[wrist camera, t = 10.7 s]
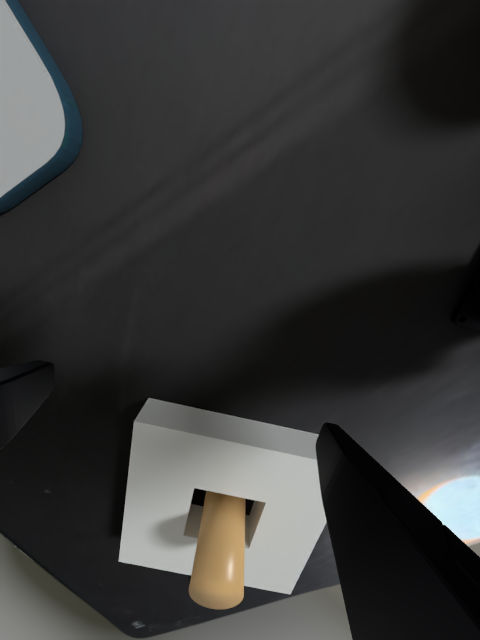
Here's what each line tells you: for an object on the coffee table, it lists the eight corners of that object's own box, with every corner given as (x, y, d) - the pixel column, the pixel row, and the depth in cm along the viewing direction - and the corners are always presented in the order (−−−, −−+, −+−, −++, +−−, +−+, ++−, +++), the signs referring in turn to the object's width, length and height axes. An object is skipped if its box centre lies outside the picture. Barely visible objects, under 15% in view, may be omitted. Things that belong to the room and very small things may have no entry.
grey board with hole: (341, 439, 23) (353, 467, 20) (270, 594, 31) (272, 630, 29) (148, 397, 23) (133, 421, 20) (127, 567, 31) (114, 600, 28)
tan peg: (249, 478, 25) (249, 582, 18) (240, 505, 27) (236, 613, 19) (210, 470, 25) (193, 571, 18) (203, 498, 26) (184, 603, 19)
